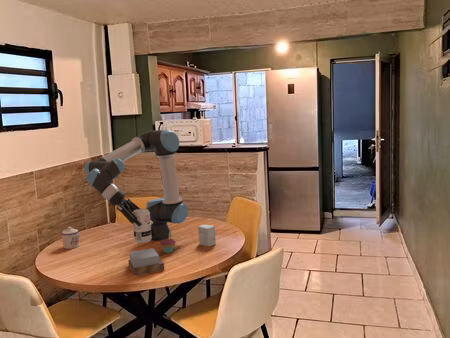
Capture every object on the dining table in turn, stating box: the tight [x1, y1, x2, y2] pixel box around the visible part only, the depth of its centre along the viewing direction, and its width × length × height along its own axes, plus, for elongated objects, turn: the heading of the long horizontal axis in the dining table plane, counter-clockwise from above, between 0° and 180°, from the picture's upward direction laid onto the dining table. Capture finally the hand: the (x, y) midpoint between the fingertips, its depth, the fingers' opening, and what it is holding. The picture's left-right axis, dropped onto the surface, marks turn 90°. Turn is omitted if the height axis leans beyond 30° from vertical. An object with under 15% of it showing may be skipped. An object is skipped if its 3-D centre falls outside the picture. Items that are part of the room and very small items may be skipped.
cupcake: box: [159, 231, 176, 254], centre depth 237 cm, size 9×8×12 cm
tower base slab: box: [128, 258, 165, 277], centre depth 215 cm, size 14×14×4 cm
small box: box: [197, 224, 217, 247], centre depth 247 cm, size 8×6×10 cm
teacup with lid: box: [61, 226, 80, 250], centre depth 255 cm, size 12×9×12 cm
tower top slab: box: [128, 247, 160, 268], centre depth 214 cm, size 12×12×4 cm
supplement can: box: [132, 208, 152, 244], centre depth 212 cm, size 8×8×15 cm
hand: (148, 227), depth 212 cm, fingers closed on supplement can, 8 cm apart
